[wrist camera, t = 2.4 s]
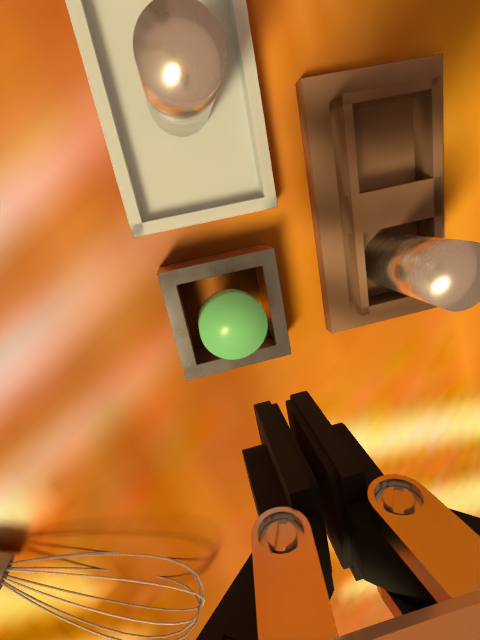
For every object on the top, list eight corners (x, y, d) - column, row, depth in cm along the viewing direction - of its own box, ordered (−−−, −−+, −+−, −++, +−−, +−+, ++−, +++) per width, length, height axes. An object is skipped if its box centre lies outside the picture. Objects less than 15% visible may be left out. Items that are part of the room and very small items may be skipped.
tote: (62, -26, 21) (52, -47, 19) (230, -49, 22) (235, -71, 20) (136, 235, 26) (133, 237, 24) (271, 207, 27) (277, 206, 25)
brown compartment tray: (295, 84, 24) (312, 66, 21) (430, 60, 25) (464, 40, 22) (326, 328, 30) (342, 342, 27) (435, 301, 31) (463, 311, 28)
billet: (139, 71, 22) (120, 1, 15) (203, 61, 23) (216, -13, 15) (156, 142, 24) (147, 110, 16) (216, 131, 24) (234, 94, 16)
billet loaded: (359, 238, 27) (429, 249, 20) (408, 227, 27) (495, 234, 20) (363, 289, 28) (431, 318, 21) (410, 278, 29) (493, 302, 21)
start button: (189, 289, 26) (192, 302, 22) (249, 275, 26) (261, 286, 22) (203, 345, 27) (207, 366, 23) (259, 331, 28) (272, 350, 24)
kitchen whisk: (-218, 488, 27) (-330, 568, 21) (210, 543, 35) (217, 611, 29) (-222, 551, 28) (-328, 643, 22) (191, 590, 37) (194, 664, 31)
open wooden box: (159, 267, 26) (157, 274, 24) (264, 243, 27) (274, 247, 24) (185, 364, 29) (186, 380, 26) (280, 340, 30) (291, 353, 27)
